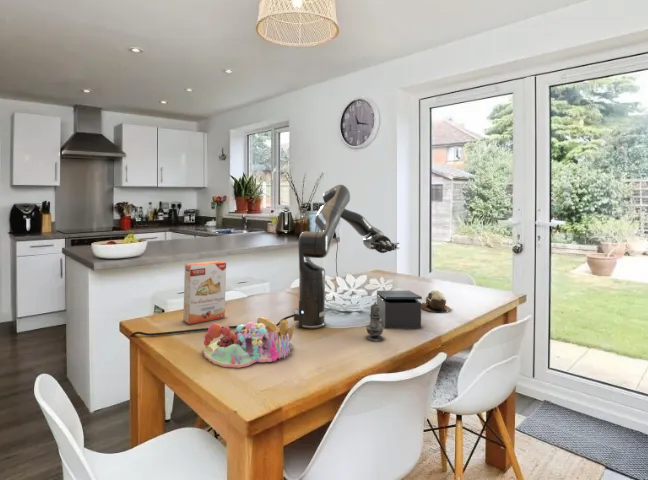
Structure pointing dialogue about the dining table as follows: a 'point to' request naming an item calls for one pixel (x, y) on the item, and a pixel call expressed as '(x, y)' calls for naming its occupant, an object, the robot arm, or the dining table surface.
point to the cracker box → (204, 291)
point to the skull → (435, 302)
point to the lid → (399, 295)
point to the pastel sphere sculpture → (248, 343)
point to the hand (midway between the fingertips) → (389, 248)
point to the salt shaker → (374, 324)
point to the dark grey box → (399, 312)
